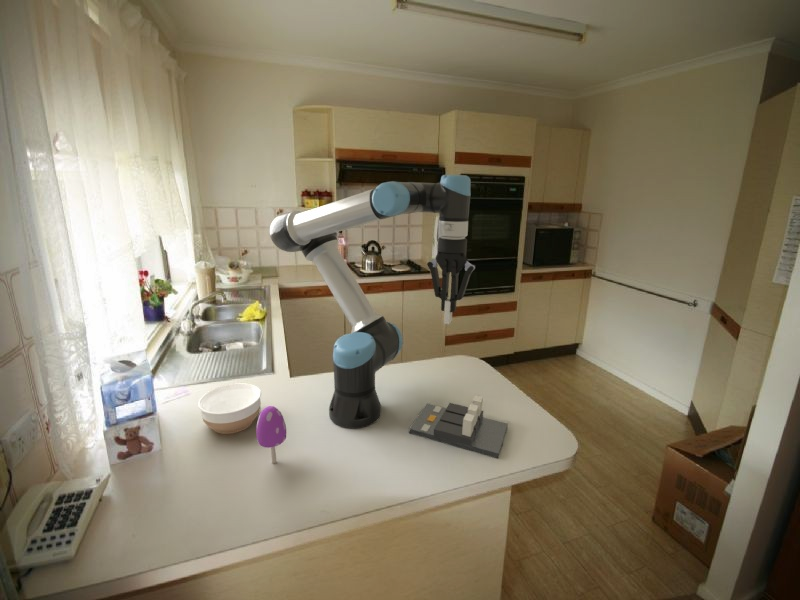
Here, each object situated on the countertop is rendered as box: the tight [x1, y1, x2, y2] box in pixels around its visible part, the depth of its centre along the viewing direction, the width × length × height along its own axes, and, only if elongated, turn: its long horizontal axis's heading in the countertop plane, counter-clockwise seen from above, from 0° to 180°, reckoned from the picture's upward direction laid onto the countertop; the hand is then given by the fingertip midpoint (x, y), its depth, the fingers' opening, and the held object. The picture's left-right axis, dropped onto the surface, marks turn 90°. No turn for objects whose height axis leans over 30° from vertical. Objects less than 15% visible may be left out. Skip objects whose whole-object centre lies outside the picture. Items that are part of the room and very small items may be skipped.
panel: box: [408, 403, 509, 459], centre depth 107 cm, size 24×14×2 cm, turn 66°
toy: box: [255, 405, 287, 464], centre depth 92 cm, size 7×7×15 cm
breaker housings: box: [434, 394, 484, 446], centre depth 106 cm, size 10×14×7 cm
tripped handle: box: [468, 403, 479, 426], centre depth 104 cm, size 2×3×4 cm
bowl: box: [197, 382, 262, 435], centre depth 108 cm, size 16×16×8 cm
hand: (447, 322), depth 108 cm, fingers closed
